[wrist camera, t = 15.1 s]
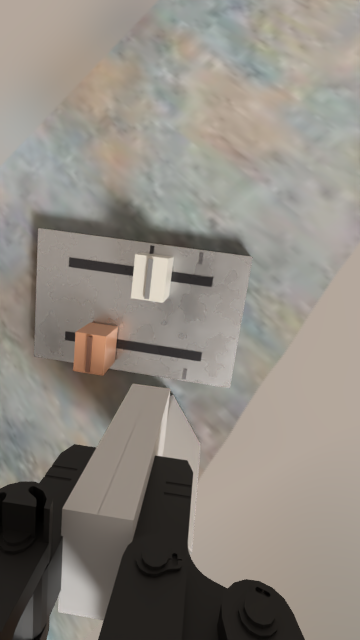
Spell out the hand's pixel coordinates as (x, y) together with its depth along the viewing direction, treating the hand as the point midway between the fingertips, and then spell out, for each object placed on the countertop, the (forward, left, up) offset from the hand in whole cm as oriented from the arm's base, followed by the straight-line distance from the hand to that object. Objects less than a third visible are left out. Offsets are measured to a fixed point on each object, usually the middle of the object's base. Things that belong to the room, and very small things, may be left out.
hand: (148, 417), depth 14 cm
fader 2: (-4, +3, -22) cm, 23 cm away
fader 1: (-9, -5, -22) cm, 25 cm away
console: (-6, -1, -25) cm, 25 cm away
